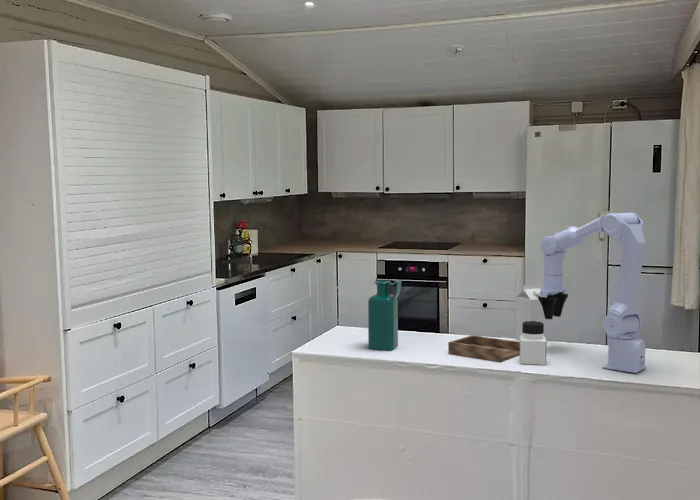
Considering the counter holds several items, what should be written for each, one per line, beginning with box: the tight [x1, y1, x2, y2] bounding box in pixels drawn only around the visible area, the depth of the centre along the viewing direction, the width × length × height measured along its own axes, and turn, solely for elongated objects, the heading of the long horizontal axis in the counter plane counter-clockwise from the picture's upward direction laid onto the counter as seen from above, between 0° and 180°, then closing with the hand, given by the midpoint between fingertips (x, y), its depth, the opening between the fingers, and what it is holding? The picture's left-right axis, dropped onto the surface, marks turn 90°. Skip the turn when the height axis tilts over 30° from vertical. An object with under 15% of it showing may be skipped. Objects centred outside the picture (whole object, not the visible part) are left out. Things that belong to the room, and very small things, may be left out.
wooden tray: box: [447, 335, 520, 363], centre depth 217 cm, size 18×14×4 cm
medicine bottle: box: [519, 321, 547, 366], centre depth 206 cm, size 7×7×12 cm
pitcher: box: [367, 279, 402, 352], centre depth 226 cm, size 10×8×22 cm
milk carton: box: [515, 284, 548, 342], centre depth 233 cm, size 7×7×19 cm
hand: (552, 317), depth 220 cm, fingers open, 5 cm apart
